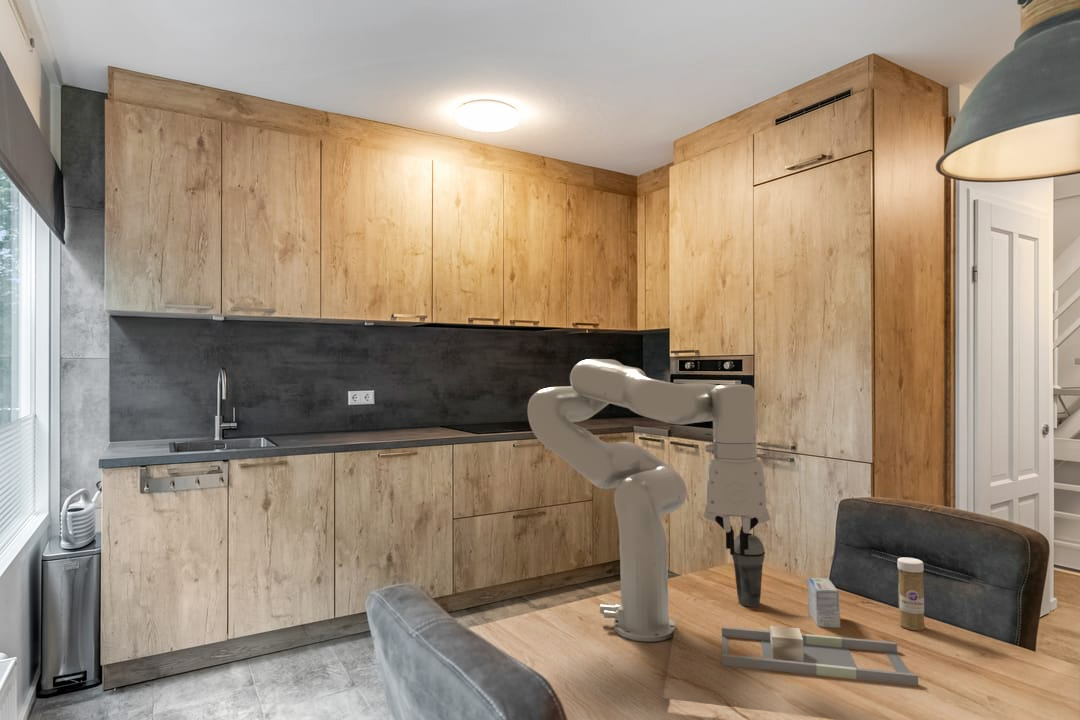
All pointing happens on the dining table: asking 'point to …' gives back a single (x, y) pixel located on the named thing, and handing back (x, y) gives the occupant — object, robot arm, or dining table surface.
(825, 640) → the track
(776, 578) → the dining table surface
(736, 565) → the beverage cup
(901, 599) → the sprinkles bottle
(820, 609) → the medicine box
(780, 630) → the cream block
